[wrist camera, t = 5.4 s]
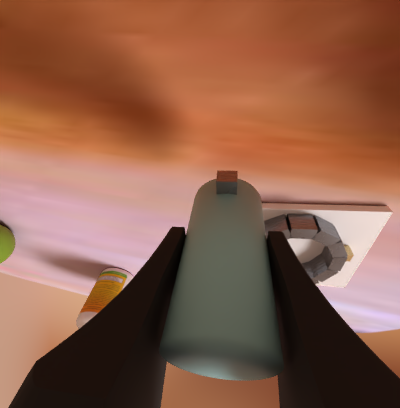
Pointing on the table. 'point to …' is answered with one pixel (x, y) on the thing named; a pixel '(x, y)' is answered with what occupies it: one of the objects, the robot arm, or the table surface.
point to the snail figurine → (6, 243)
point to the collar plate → (348, 227)
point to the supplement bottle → (103, 293)
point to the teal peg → (224, 289)
